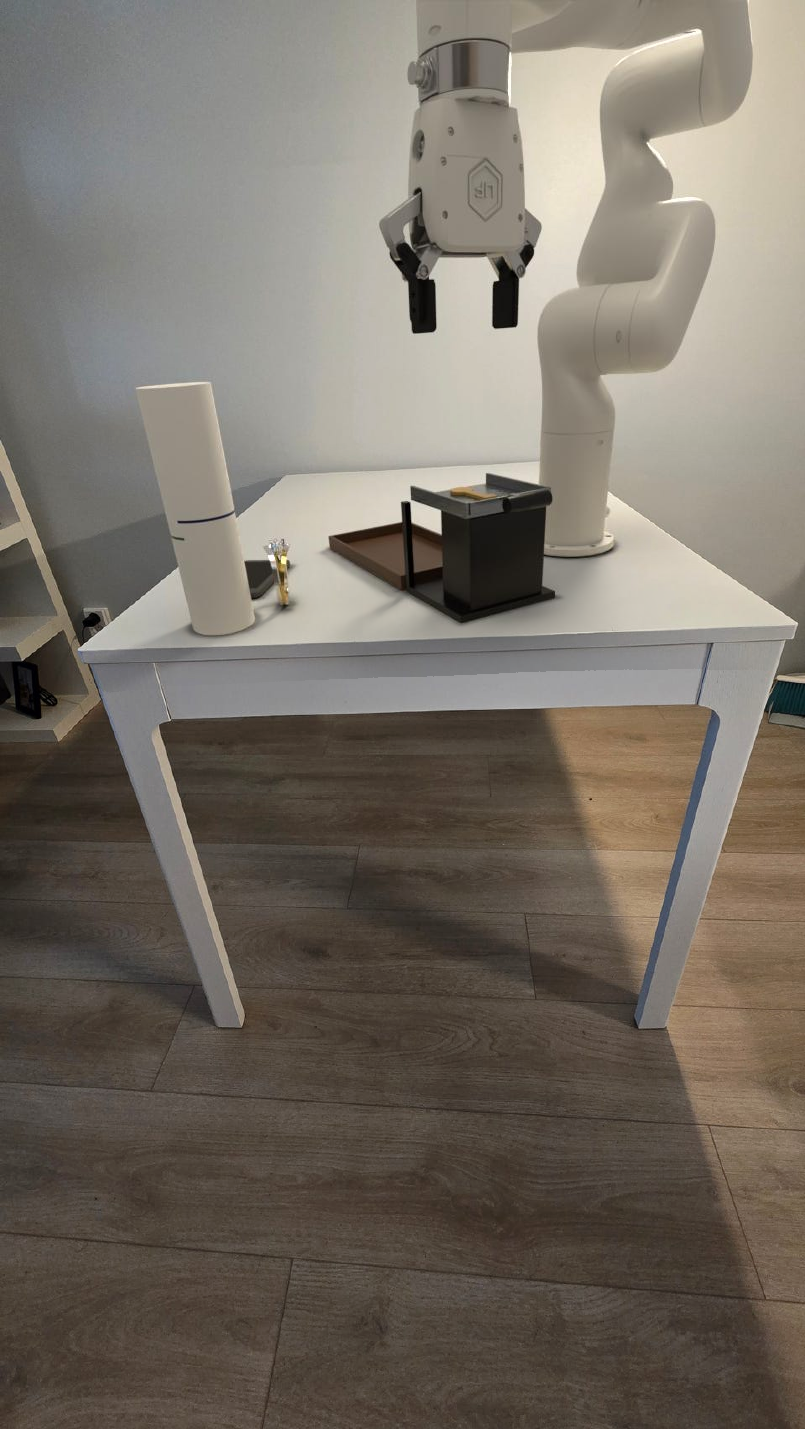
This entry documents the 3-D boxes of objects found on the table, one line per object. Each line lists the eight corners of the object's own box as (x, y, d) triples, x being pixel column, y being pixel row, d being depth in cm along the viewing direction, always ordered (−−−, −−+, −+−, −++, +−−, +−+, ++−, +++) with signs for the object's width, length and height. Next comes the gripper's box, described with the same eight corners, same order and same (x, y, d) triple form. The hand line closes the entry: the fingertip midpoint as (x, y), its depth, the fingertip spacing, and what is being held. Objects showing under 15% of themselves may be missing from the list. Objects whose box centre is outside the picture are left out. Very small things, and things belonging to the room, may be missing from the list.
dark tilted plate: (410, 500, 76) (409, 480, 75) (488, 486, 80) (488, 467, 79) (487, 526, 63) (487, 503, 62) (573, 508, 68) (575, 486, 67)
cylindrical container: (239, 636, 72) (189, 386, 59) (181, 634, 73) (120, 390, 61) (264, 612, 78) (223, 380, 65) (210, 611, 79) (159, 384, 67)
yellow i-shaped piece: (445, 492, 76) (445, 489, 76) (465, 489, 77) (465, 485, 77) (478, 502, 71) (478, 499, 71) (499, 498, 72) (499, 495, 72)
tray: (329, 548, 100) (328, 536, 99) (408, 532, 105) (407, 520, 104) (401, 590, 82) (400, 576, 81) (492, 568, 87) (492, 554, 86)
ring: (295, 613, 77) (285, 547, 73) (268, 615, 77) (257, 549, 73) (301, 593, 83) (291, 531, 79) (276, 595, 83) (265, 533, 79)
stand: (405, 590, 81) (400, 501, 76) (492, 570, 86) (493, 485, 81) (461, 623, 71) (459, 523, 66) (555, 597, 76) (561, 502, 71)
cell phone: (205, 598, 83) (204, 592, 83) (244, 564, 95) (243, 559, 94) (259, 598, 82) (258, 592, 81) (292, 564, 94) (291, 559, 93)
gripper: (400, 58, 46) (411, 333, 55) (573, 87, 54) (559, 324, 63) (350, 92, 52) (368, 336, 61) (514, 113, 60) (509, 328, 68)
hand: (465, 330), depth 62 cm, fingers open, 9 cm apart
